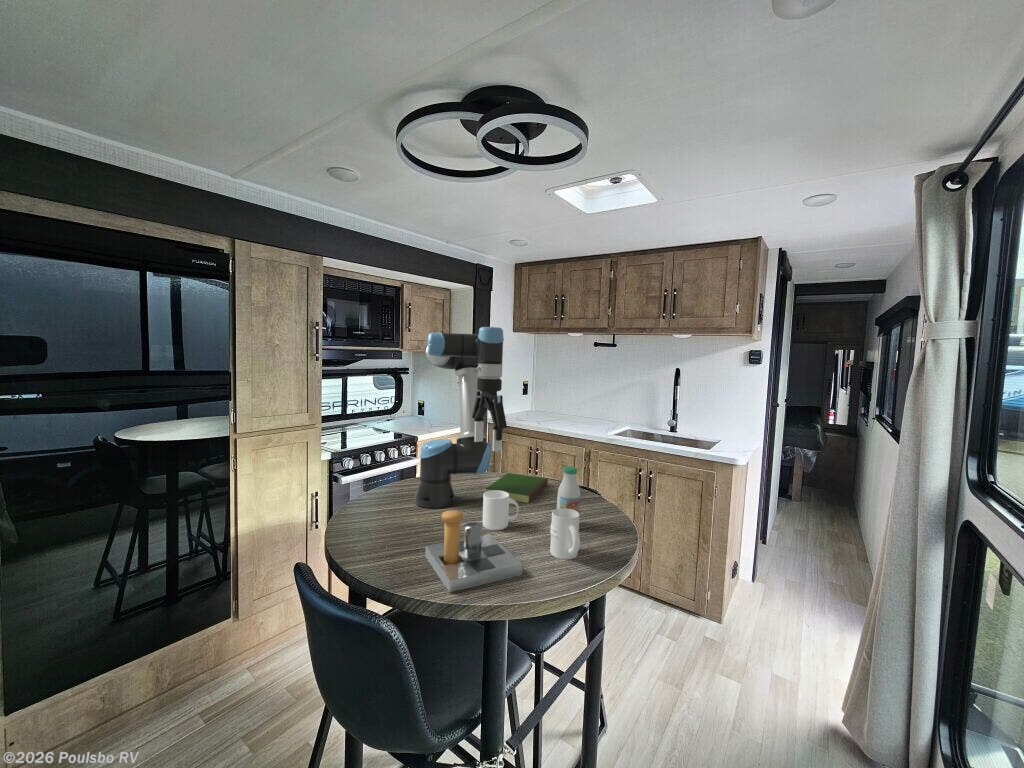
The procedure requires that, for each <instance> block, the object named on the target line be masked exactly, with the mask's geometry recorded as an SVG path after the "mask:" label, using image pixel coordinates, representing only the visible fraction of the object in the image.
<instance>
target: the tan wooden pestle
mask: <svg viewBox="0 0 1024 768" xmlns="http://www.w3.org/2000/svg"><path fill="white" fill-rule="evenodd" d="M463 520H464V513H463V512H462V511H460V510H453V509H452V510H446V511H443V512H442V514H441V521H442V522H444V536H443V539H444V540H443V543H444V565H445V566H446V565H451V564H455V563H459V542H460V540H461V539H460V537H461V535H460V533H461V522H462V521H463Z"/></svg>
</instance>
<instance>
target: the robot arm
mask: <svg viewBox="0 0 1024 768" xmlns="http://www.w3.org/2000/svg"><path fill="white" fill-rule="evenodd" d="M504 340H505V339H504V330H503V329H502V328H501V327H495V326H481V327H480V328H478V334H476V333H453V332H452V333H451V332H441V331H438V332H430V333H428V336H427V347H426V349H425V357H426V360H427V361H428V362H429V363H430V364H431V365H433V366H434V367H438V368H440V369H446V370H454V374H455V376H457V378H458V383H459V385H458V388H459V423H460V424H459V428H460V431H459V433H460V434H459V436H458V437H457V438H456V443H453V441H452V440H451V439H449V438H438V439H432V440H429V441H426V442H423V444H422V445H421V446H420V454H419V459H420V465H419V467H420V468H419V469H420V471H419V483H418V486H417V489H416V493H415V495H414V503H415V505H416V506H418V507H421V508H425V509H441V508H447V507H450V506H452V505H453V504H455V502H456V494H455V490H454V488H453V484H452V475H469V474H470V475H471V474H473V475H477V474H485V473H486V472H487V471H488V470H489V468H490V463H491V458H492V452H501V451H502V449H503V431H504V429H506V428H507V427H508V426H507V420H506V414H505V409H504V403H503V401H504V400H503V399H504V398H503V395H502V394H501V395H498V392H501V391H502V386H503V381H502V379H501V378H502V377H503V354H504V352H503V351H504ZM487 411H489V413H490V417H491V420H492V424H493V428H492V444H491V442H488V441H487V437H486V436H485V435H484V425H485V424H484V422H485V419H484V418H485V414H486V412H487Z"/></svg>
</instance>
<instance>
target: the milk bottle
mask: <svg viewBox="0 0 1024 768" xmlns="http://www.w3.org/2000/svg"><path fill="white" fill-rule="evenodd" d="M562 470H563V471H562V472H563V477H562V480H561V482H560V485H559V486H558V490H557V497H556V498H557V499H556V509H559V508H567V509H572V510H575V511H577V512H578V513H579V515H580V512H581V489H580V486H579V483H578V479H577V475H578V468H577V467H575V466H569V465H568V466H564V467H563V468H562ZM579 519H580V516H579Z"/></svg>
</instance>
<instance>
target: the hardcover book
mask: <svg viewBox="0 0 1024 768" xmlns="http://www.w3.org/2000/svg"><path fill="white" fill-rule="evenodd" d="M548 481H549V479H548V477H547V478H546V477H541V476H540V477H539V476H532V475H526V474H519V473H511V472H507V473H506V474H504V475H503V476H501V477H500V478H498V479H497V480H496V481H494V482H493V483H491V484H490V485H488V486H486V488H485V490H486V491H485V492H487V491H492V490H499V491H504V492H507V493H508V494H509V498H511V499H513V500H515V501H516V502H518V503H519V502H521V503H525V504H531V503H532V502H533V501H534V500H535V499H536V498H537V497H538V496H539V495H540V494H541V493H542V492H544V490H545V489H547V487H548V485H549V484H548Z"/></svg>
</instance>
